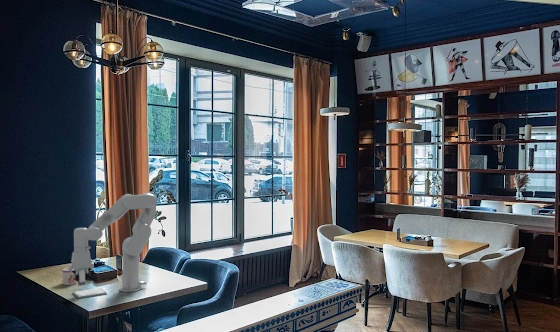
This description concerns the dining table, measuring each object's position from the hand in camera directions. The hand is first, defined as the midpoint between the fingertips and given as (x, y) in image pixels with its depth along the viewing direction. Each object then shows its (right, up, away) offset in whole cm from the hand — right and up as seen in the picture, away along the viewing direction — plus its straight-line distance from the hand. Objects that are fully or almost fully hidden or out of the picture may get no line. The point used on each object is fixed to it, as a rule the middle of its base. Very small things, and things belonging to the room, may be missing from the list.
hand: (81, 280), depth 270 cm
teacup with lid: (-17, -8, +24) cm, 30 cm away
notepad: (+4, -8, +2) cm, 10 cm away
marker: (0, -2, 0) cm, 2 cm away
